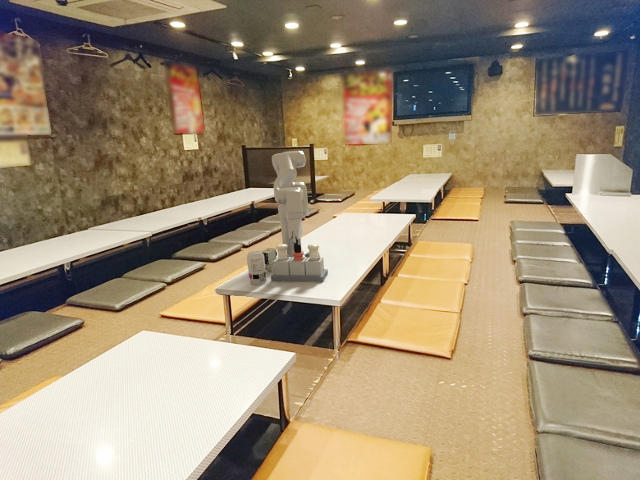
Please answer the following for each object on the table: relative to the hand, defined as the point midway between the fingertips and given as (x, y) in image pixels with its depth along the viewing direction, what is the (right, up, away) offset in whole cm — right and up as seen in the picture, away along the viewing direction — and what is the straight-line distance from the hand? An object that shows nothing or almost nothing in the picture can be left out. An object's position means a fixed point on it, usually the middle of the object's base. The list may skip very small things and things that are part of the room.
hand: (297, 252), depth 206 cm
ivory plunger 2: (+8, -4, 0) cm, 9 cm away
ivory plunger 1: (-8, -5, +3) cm, 9 cm away
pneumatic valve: (-16, -10, +18) cm, 27 cm away
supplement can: (-19, -15, 0) cm, 25 cm away
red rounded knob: (0, -8, +2) cm, 8 cm away
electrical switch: (+8, -8, +20) cm, 23 cm away
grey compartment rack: (+1, -13, +3) cm, 13 cm away
